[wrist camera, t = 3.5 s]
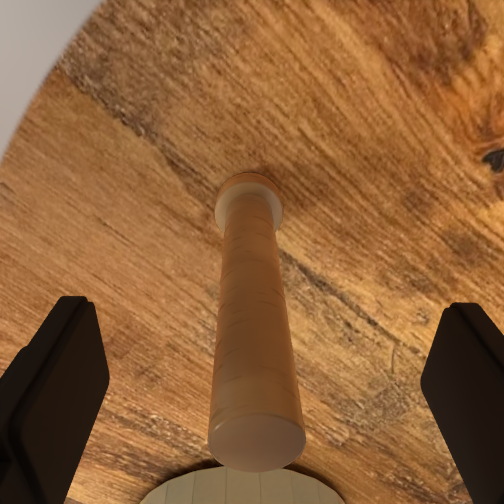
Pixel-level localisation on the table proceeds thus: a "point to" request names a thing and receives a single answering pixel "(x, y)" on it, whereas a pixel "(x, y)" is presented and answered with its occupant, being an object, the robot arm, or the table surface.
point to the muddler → (253, 336)
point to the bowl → (242, 488)
